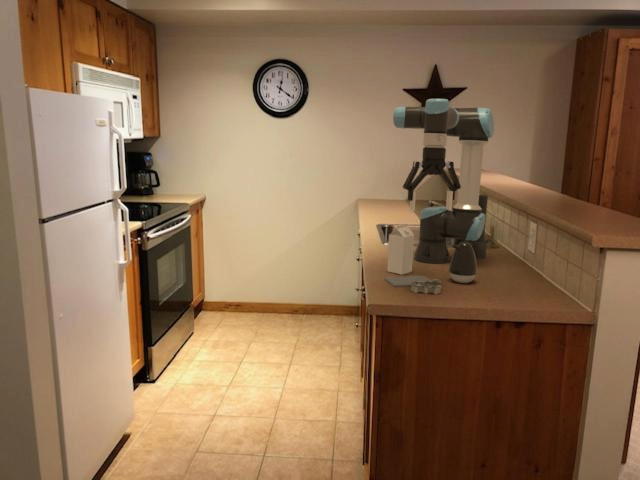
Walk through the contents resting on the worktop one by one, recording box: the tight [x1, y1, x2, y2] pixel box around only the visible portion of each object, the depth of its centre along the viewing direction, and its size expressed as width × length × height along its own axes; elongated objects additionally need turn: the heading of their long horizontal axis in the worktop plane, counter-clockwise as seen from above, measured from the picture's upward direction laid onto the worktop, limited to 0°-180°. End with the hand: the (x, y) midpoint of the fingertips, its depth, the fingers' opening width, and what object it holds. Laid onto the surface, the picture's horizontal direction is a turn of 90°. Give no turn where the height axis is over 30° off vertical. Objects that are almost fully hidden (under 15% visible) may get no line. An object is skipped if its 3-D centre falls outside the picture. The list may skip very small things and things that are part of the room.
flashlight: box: [470, 194, 489, 260], centre depth 238 cm, size 7×28×7 cm
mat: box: [383, 275, 432, 288], centre depth 199 cm, size 16×10×1 cm, turn 104°
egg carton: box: [410, 278, 442, 295], centre depth 188 cm, size 11×8×4 cm
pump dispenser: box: [448, 241, 478, 284], centre depth 199 cm, size 10×10×15 cm
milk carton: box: [386, 223, 415, 275], centre depth 211 cm, size 7×7×19 cm
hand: (430, 210), depth 182 cm, fingers open, 13 cm apart
